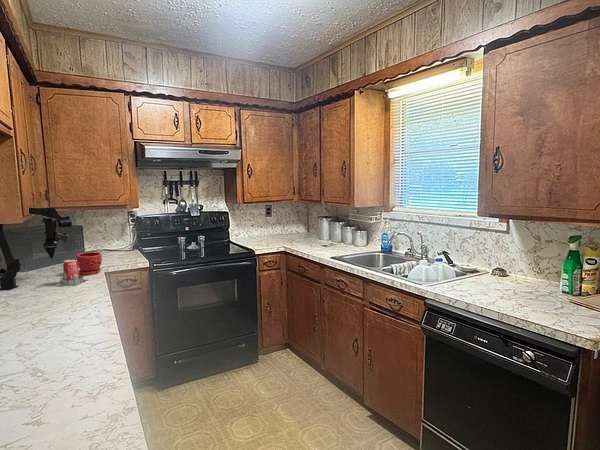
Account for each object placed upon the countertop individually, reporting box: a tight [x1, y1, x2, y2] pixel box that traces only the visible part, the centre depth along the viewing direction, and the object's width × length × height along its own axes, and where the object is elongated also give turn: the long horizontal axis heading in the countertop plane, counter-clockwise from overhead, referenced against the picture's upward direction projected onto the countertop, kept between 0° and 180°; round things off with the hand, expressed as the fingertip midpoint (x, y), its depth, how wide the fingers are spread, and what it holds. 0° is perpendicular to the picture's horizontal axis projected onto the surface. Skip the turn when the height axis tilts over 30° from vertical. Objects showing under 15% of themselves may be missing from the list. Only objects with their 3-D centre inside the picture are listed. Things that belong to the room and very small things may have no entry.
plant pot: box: [76, 251, 103, 276], centre depth 222 cm, size 13×13×12 cm
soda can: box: [62, 259, 80, 280], centre depth 200 cm, size 7×7×12 cm
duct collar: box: [55, 274, 89, 287], centre depth 201 cm, size 11×11×3 cm
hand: (52, 256), depth 207 cm, fingers open, 9 cm apart
